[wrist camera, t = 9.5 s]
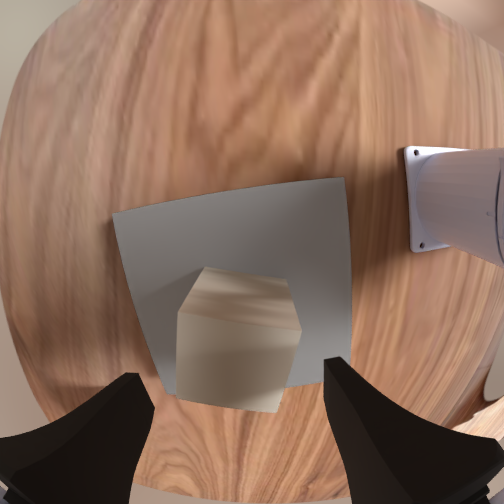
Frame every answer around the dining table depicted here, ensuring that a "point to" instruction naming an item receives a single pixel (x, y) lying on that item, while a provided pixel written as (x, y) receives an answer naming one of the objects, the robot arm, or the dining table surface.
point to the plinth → (245, 262)
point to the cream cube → (236, 340)
